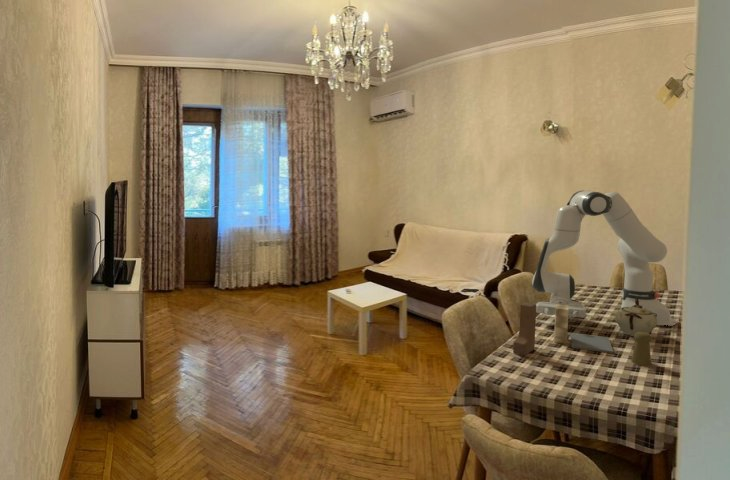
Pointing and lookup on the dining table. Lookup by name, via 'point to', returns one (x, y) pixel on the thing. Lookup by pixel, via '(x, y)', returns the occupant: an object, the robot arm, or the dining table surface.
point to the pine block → (561, 324)
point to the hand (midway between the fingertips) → (560, 314)
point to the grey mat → (591, 342)
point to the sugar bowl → (635, 319)
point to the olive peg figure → (642, 349)
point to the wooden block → (526, 330)
